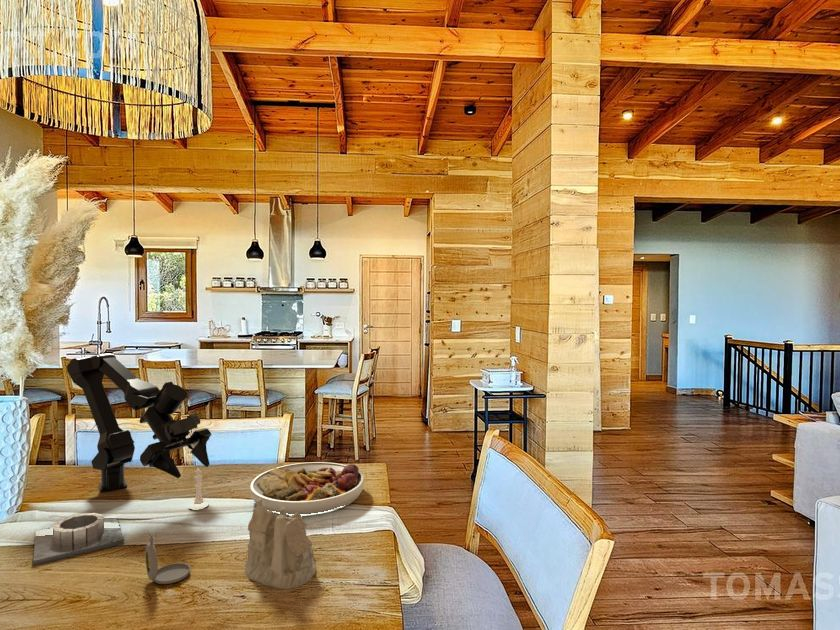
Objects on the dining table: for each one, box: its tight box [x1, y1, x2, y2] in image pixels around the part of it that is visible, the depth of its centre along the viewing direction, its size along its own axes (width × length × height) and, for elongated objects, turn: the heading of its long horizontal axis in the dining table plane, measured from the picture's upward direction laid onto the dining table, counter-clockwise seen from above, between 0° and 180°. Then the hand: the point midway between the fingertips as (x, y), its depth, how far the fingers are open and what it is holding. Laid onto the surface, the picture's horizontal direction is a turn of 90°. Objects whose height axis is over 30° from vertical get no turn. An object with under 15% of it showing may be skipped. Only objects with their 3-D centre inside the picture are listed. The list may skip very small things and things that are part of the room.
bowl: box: [249, 461, 365, 514], centre depth 141 cm, size 30×30×8 cm
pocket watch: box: [144, 530, 191, 585], centre depth 100 cm, size 8×8×10 cm
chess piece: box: [193, 468, 204, 504], centre depth 134 cm, size 5×5×10 cm
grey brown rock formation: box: [244, 498, 317, 590], centre depth 106 cm, size 16×16×15 cm
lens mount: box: [32, 512, 125, 566], centre depth 116 cm, size 16×16×4 cm
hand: (194, 471), depth 134 cm, fingers open, 9 cm apart
